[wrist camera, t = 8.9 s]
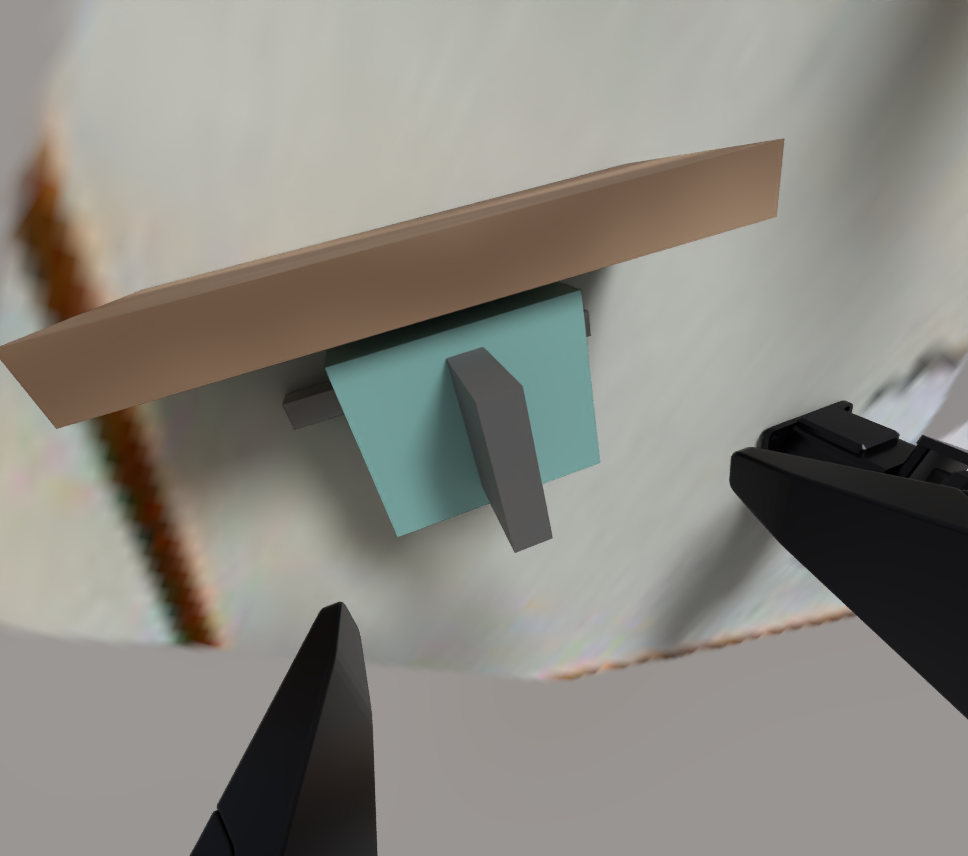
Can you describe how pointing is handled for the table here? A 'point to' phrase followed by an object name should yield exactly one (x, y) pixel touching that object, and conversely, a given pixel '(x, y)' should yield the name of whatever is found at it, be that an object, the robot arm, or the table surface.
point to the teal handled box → (473, 410)
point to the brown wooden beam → (383, 282)
